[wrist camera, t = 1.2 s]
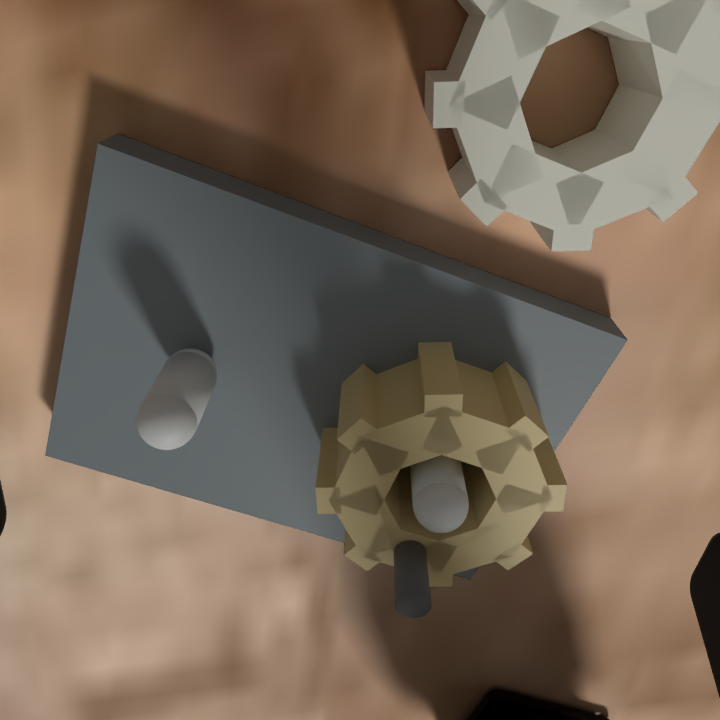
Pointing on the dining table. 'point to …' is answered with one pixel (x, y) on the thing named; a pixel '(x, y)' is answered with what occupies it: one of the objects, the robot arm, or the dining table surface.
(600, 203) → the loose gear
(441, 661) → the dining table surface
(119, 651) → the dining table surface
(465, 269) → the gear board
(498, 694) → the robot arm
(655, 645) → the dining table surface
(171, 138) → the dining table surface
